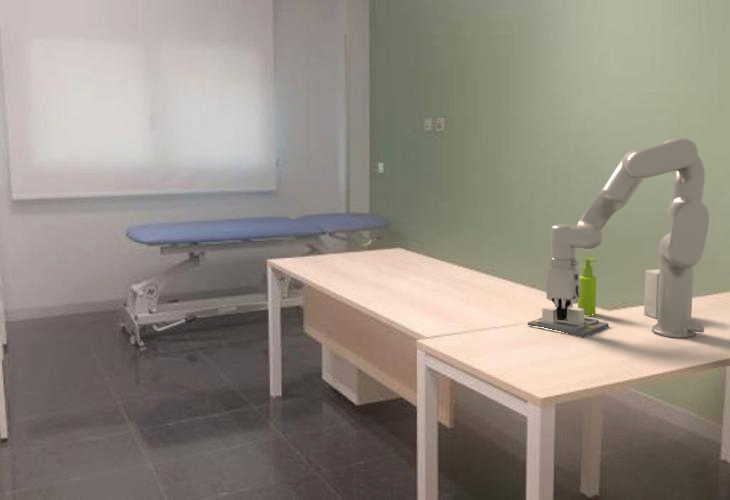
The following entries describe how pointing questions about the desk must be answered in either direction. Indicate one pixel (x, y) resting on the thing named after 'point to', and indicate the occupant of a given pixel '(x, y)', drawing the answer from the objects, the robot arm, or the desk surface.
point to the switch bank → (572, 326)
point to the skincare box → (651, 293)
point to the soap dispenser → (587, 288)
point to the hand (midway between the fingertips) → (561, 319)
